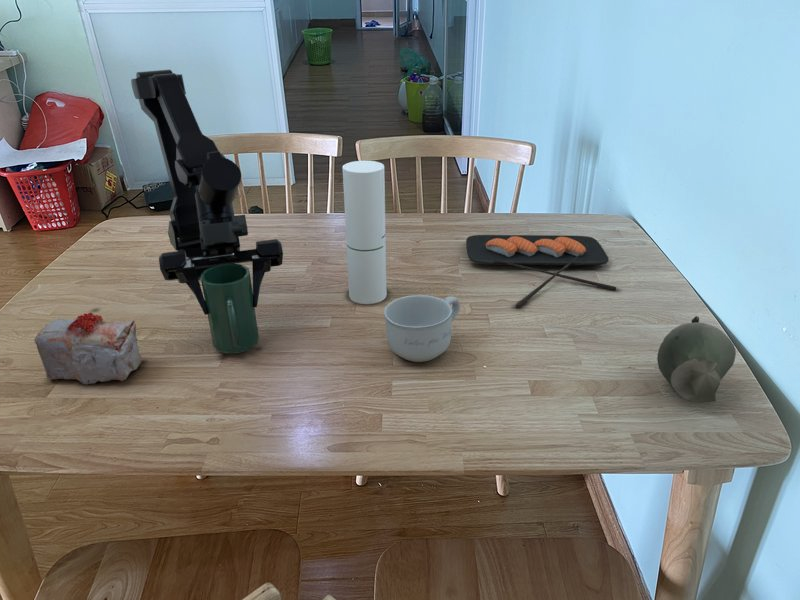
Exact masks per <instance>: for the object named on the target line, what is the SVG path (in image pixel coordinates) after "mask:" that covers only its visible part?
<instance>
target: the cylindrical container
mask: <svg viewBox="0 0 800 600" xmlns="http://www.w3.org/2000/svg"><path fill="white" fill-rule="evenodd" d="M385 178H386V177H385V164H384V163H381V162H379V161H374V160H355V161H350V162H347V163H345V164H343V165H342V182H343V184H342V185H343V186H342V187H343V203H344V205H343V206H344V222H345V240H346V241H345V243H346V262H347V280H348V281H347V283H348V298H349V299H350V300H351V301H352V302H354V303H357V304H359V305H374V304H378V303H380V302H383V301H384V300H385V299H386V298H387V244H386V243H387V241H386V240H387V239H386V237H387V236H386V195H385V194H386V190H385V189H386V187H385V185H386V183H385Z"/></svg>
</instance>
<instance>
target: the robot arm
mask: <svg viewBox="0 0 800 600" xmlns="http://www.w3.org/2000/svg"><path fill="white" fill-rule="evenodd" d="M135 73H136V74H135V78H131V80H130V81H131V82H130V83H131V88H132V93H133V97H134V98H135V99H136V100H138V102H139V105H140V109H141V111H143V113H144V114H145V115H147V117H148V118H149V119H150V120H151V121H152V122H153V124H154V127H155V131H156V134H157V138H158V139H157V140H158V143H159V146H160V151H161V155H162V157H163V161H164V165H165V170H166V173H167V176H168V182H169V184H170V188H171V192H172V196H173V200H172V202H171V206H170V208H169V218H170V220H168V227H167V228H168V230H167V234H168V239H169V243H170V244H171V246H172V247H173V249H174V250H175V251H169V252H162V253H161V254H160V255H159V257H158V264H159V271H160V272H161V274H162V276H163V279H164V280H165V281H168V282H169V281H176V280H178V283H179V284H183V285H184V284H185V285H187V286H188V288H189V289H190V290H191V292H192V293H193V295H194V296H195V298H196V300H197V302H198V304H199V306H200V308H201V310H202V312H203V314H204V315H205V316H208V315H207V308H206V303H205V298H204V293H203V289H202V285H201V284H200V280H199V278H201V274H202V273H203V272H204V271H205V270H207V269H209V268H210V267H213V266H217V265H221V264H243V263H250V262H251V264H252V267H251V268H252V269H251V271H252V272H251V273H252V292H253V300H254V307H255V308H258V303H259V298H260V297H259V296H260V292H261V291H260V290H261V285H262V283H263V280H264V276H265V274H266V273H269V272H271V270H272V268H274V267H279V266H282V265H283V258H284V250H283V245H282V242H281V241H280V240H279V239H277V238H275V239H266V240H259V241H257V240H256V241H255V248H252V249H245V250H244V249H243V250H241V242H240V237H246V236H248V235H249V230H248V225H247V218H246V214H239V215H235V211H234V205H233V202H234V201H235V199H236V196H237V193H238V190H239V187H240V184H241V181H242V172H241V168H240V167H239V166H238V165H237V164H236V163H235V162H234V161H233V160H231V159H229V158H227V157H225V155H224V154H223V153H222V152H221V151H220V150H219V148H218V147H217V145H216V143H215V141H214V140H213V139H211V138H209V137H208V136H206V135H205V134H203V132H202V131H201V130H202V129H201V128H200V126H199V124H198V121H197V119H196V117H195V115H194V112H193V110H192V107H191V105H190V103H189V100H188V98H187V96H186V95H187V92H186V88H185V87H186V86H185V82H184V77H183V74H182V73H181V74H179V73H178V74H177V73H174V72H173V71H172V70H171V69H161V70H160V69H159V70H148V71H137V72H135ZM197 187H198V189H197Z"/></svg>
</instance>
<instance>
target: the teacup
mask: <svg viewBox="0 0 800 600" xmlns="http://www.w3.org/2000/svg"><path fill="white" fill-rule="evenodd" d="M460 310H461V303H460V300H459V299H458V298H457V297H455V296H452V295H449V296H447V297H445V298H444V299H442V298H440V297H437V296H433V295H429V294H428V295H427V294H413V295H407V296H402V297H399V298H396V299H394V300H392V301H390V302H389V303H387V304H386V306H385V307H384V309H383V317H384V322H385V333H386V340H387V345H388V347H389V348H390V349H391V351H392V352H393V353H394V354H395V355H397V356H399V357H400V358H402V359H404V360H406V361H409V362H413V363H423V362H429V361H432V360H434V359H436V358H438V357H439V356H440V355H441V354H442V353H444V352H446V350H447V349H448V348H449V346H450V343H451V340H452V331H453V330H452V329H453V328H452V327H453V324H452V323H453V322H454V321H455V319H456V318H457V316H458V315H459V313H460Z"/></svg>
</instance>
